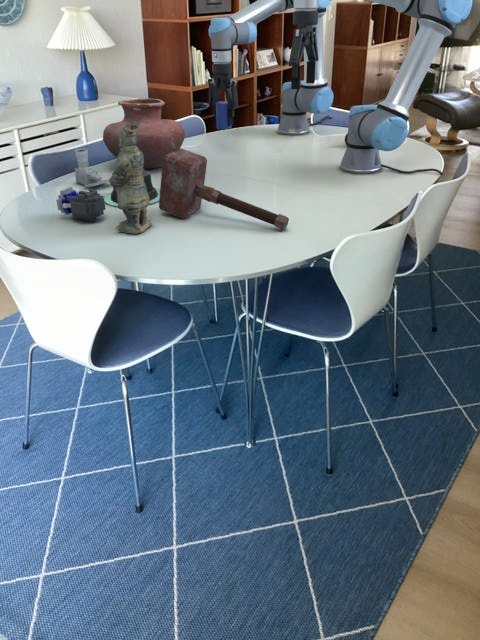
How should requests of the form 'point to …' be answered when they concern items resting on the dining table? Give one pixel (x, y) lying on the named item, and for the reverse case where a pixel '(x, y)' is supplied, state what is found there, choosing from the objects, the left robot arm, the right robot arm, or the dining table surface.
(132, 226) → the statue
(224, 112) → the canister
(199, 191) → the sledgehammer
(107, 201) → the chocolate cake
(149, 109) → the clay pot
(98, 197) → the toy
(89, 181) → the grey l-shaped piece
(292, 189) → the dining table surface
